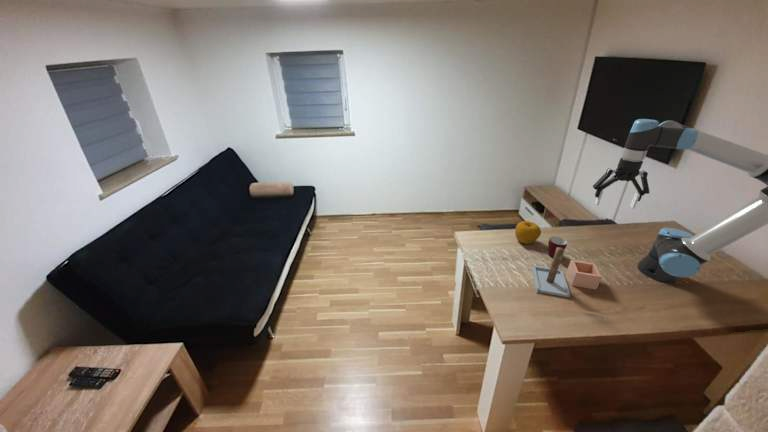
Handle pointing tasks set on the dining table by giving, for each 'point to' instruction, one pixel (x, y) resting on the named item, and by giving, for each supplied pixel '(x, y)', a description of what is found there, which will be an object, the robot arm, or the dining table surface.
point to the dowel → (555, 265)
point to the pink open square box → (583, 274)
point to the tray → (555, 288)
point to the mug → (555, 245)
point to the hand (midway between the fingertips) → (614, 205)
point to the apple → (527, 232)
